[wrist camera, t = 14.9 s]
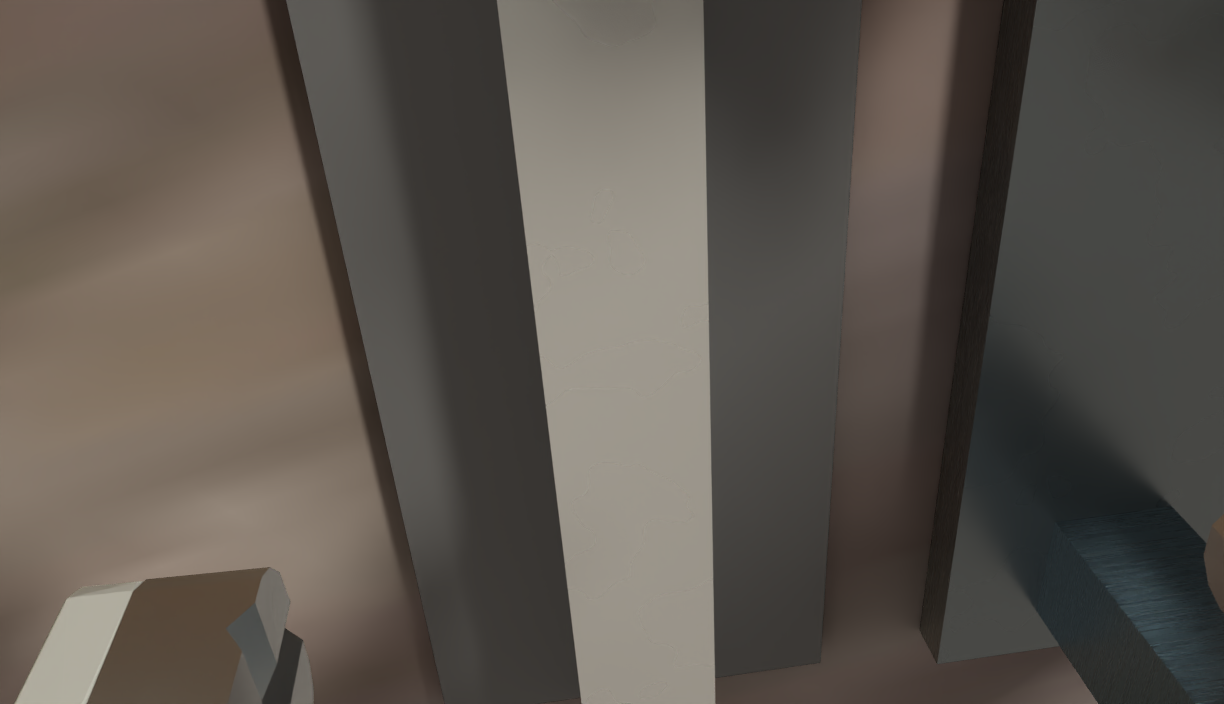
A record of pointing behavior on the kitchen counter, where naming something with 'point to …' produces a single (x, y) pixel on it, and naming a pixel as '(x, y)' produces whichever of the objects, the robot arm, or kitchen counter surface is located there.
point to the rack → (1092, 356)
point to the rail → (622, 326)
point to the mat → (507, 336)
